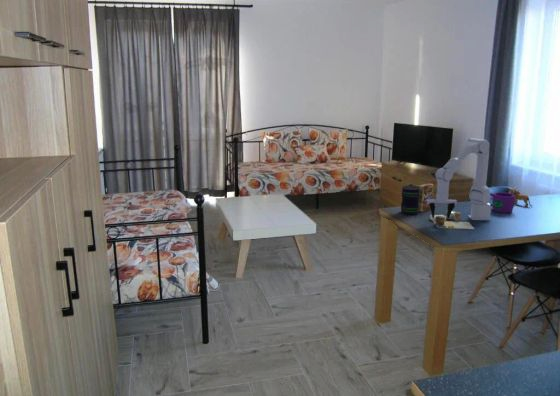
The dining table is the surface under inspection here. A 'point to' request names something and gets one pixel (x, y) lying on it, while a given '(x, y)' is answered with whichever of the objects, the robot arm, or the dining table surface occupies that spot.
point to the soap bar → (435, 217)
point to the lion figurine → (520, 197)
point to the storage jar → (410, 200)
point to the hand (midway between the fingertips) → (440, 217)
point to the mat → (455, 225)
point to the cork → (457, 217)
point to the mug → (503, 202)
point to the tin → (451, 215)
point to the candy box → (425, 196)
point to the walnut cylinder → (439, 220)
